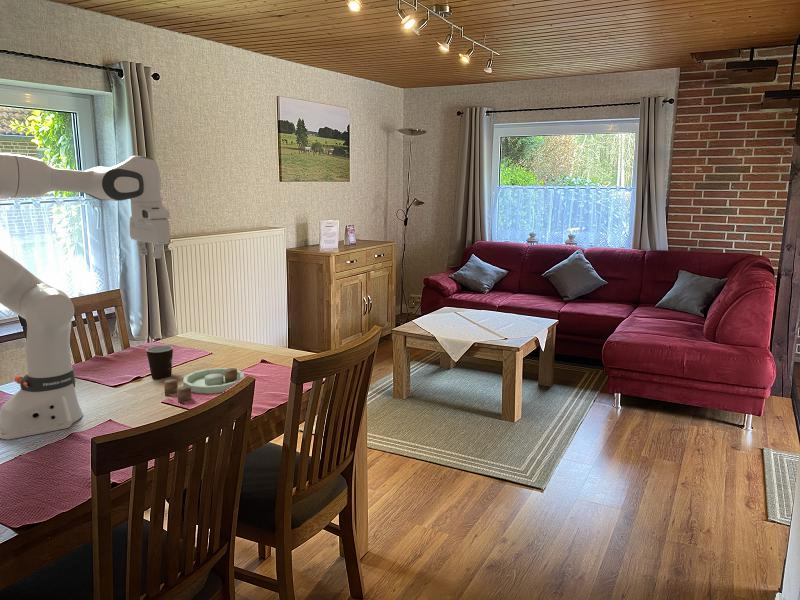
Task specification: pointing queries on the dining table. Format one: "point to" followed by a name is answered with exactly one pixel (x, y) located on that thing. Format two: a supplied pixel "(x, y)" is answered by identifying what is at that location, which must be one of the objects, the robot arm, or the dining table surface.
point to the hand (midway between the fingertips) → (150, 256)
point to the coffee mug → (160, 361)
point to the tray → (200, 381)
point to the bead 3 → (230, 375)
